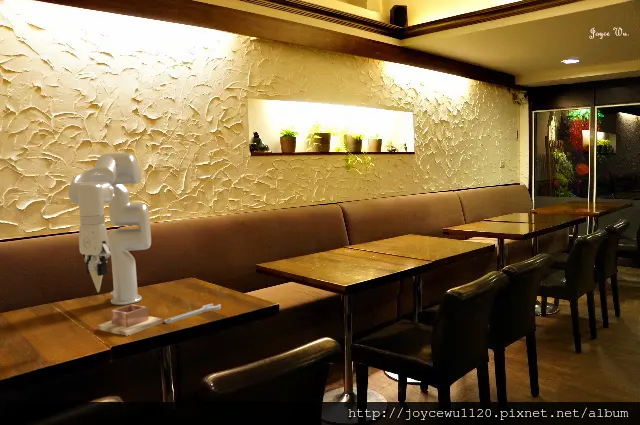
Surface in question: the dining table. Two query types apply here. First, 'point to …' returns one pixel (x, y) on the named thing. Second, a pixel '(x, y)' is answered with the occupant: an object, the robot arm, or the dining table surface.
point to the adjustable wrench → (193, 313)
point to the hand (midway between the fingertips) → (96, 273)
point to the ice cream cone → (95, 272)
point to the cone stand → (129, 320)
